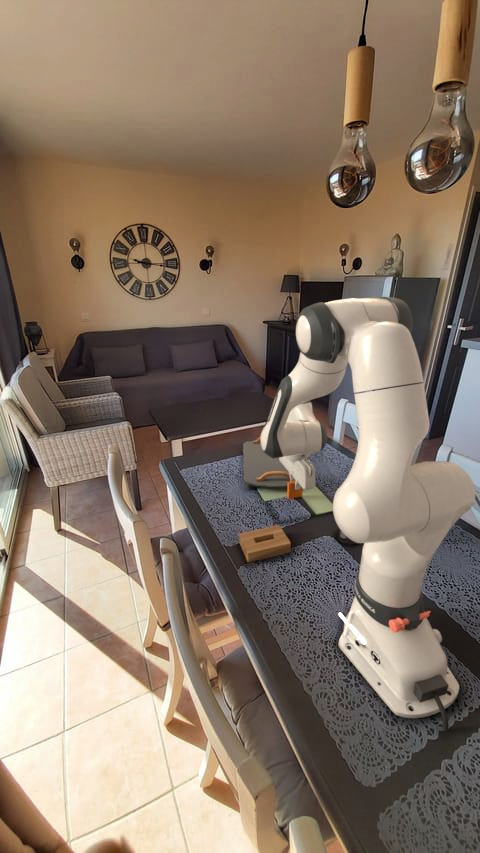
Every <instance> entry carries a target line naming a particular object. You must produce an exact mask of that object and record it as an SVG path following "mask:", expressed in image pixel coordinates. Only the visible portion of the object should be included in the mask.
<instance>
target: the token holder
mask: <svg viewBox="0 0 480 853" xmlns="http://www.w3.org/2000/svg"><path fill="white" fill-rule="evenodd" d="M238 543H239V544H240V547H241V550H242V552H243V554H244V556H245V560H246V561H247V563H253V562H257V561H260V560H264V559H268V558H272V557H275V556H281V555H284V554H289V553H291V552H292V551H291V549H292V543H291V541H290V539H289V537H288V536H287V535H286V533H285V531H284V530H283V528H282V527H281V525H280V524H276V525H271V526H267V527H263V528H259V529H253V530H250V531H246V532H240V533H238Z"/></svg>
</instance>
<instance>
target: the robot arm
mask: <svg viewBox="0 0 480 853" xmlns="http://www.w3.org/2000/svg"><path fill="white" fill-rule="evenodd" d="M412 330H413V315H412V312H411V309H410V307H409V305H408V304H407V303H406V302H405V301H404V300H403V299H400V298H396V297H390V296H382V297H379V298H377V297H361V298H357V297H356V298H355V297H350V298H342V299H336V300H332V301H331V300H330V301H328V302H322V301H321V302H315V303H313V304H310V305H308V306H306V307H304V308H303V309H302V310H301V311H300V313H299V315H298V316H297V319H296V323H295V340H296V344H297V348H298V350H299V351H300V352H299V357H298V361H297V363H296V365H295V367H294V368H293V369H292V371H291V372H290V373H288V375H286V376H285V377H283V378H282V379H281V381H280V383H279V385H278V388H277V389H276V393H275V395H274V398H273V402H272V404H271V407H270V410H269V414H268V416H267V419H266V421H265V424H264V425H263V427H262V429H261V433H260V436H259V437H260V442H261V447H262V450H263V452H264V453H265V454H267V455H268V456H270V457H271V458H273V459H274V458H279V460H280V462H281V463H282V464H283V465H284V467H285V468H286V469H287V470H288V471H289V475H290V479H291V480H290V482H291V481H296V482H295V483H294V488H295V489H296V490H298V489H300V488H301V487H302V488H303V489H304V490H307V489H312V488H314V487H315V485H316V469H315V466H314V465H313V464H314V463H312V461H311V460H310V459H308V458H310V457H311V455H312V454H317V453H321V452H322V451H323V450H324V448H325V447H326V445H327V442H328V429H327V427H326V425H325V424H324V423H323V422H321V421H320V420H319V419H317V418H316V416H315V414H314V410H313V404H312V402H311V401H312V400H316V399H319V398H322V397H325V396H327V395H329V394H331V393H332V392H335V390H337V389H338V387H339V386H340V385H341V383H342V381H343V379H344V377H345V375H346V370H347V367H348V365H349V367H350V371H351V379H352V389H353V390H352V391H353V395H354V402H355V403H354V404H355V412H356V421H357V432H358V439H357V440H358V441H357V448H356V452H355V453H356V454H355V457H354V461H353V463H352V467H351V469H350V471H349V473H348V475H347V477H345V480H344V481H343V482H342V484H341V485H340V486H339V487H338V488H337V489H336V491H335V493H334V495H333V496H334V497H333V501H332V504H333V511H332V513H333V517H334V521H335V523H336V525H337V527H338V528H340V530H341V531H342V532H343V533H344V534H345V535H346V536H347V537H348V538H349V539H351V540H352V541H354V542H356V544H363V545H362V549H361V550H362V551H361V559H360V563H359V564H360V565H359V569H358V571H357V573H356V577H355V581H354V597H353V600H352V603H351V606H350V609H349V611H348V613H347V615H346V616H344V615H343V613H342V612H338V616H339V617H340V619H341V620H342V621H343V631H342V633H341V635H340V638H339V640H338V647H339V649H340V650H341V651H342V653H343V654H344V656H346V657H347V659H348V660H349V661H350V663H352V665H353V666H354V667H355V668H356V670H357V671H358V672H359V673H360V674H361V676H362V677H363V678H364V679H365V681H366V682H367V683H368V684H369V686H371V688H372V689H373V690H374V691H375V692H376V694H377V695H378V696H379V697H380V698H381V700H382V701H383V702H384V704H385V705H386V706H387V707H388V708H389V710H390V711H391V712H392V713H393V714H394V715H395V716H398V717H401V718H406V719H422V718H426V717H430V716H433V715H435V714H438V713H440V715H441V719H442V720H441V722H442V723H441V724H442V730H444V731H445V732H447V731H449V719H448V714H447V711H446V709H447V708H449V707H450V706H451V705H452V704H453V703H454V702H455V701H456V700H457V698H458V695H459V692H460V684H459V682H458V681H457V679H456V677H455V676H454V674H453V672H452V671H451V669H450V667H449V666H448V659H447V656H446V653H445V651H444V649H443V647H442V645H441V643H442V642H443V637H442V634H441V631H439V630H438V629H437V628H433V627H432V626H431V625H432V624H430V621H429V620H428V618H429V617H430V616H431V615H430V613H431V612H432V611H431V610H427V611H426V610H425V602H424V595H423V590H422V588H423V585H424V581H425V577H426V573H427V570H428V567H429V564H430V562H431V561H432V558H433V557H434V555H435V554H436V552H437V550H438V549H439V547H440V545H441V544H442V542H443V541H444V540H445V538H446V536H447V535H448V533H449V532H450V530H451V529H452V528H453V526H454V525H455V524H456V522H458V520H460V518H462V517H463V516H464V515H465V514H466V513H467V512H468V511H469V510H471V509H472V507H473V506H474V503H475V500H476V488H475V485H474V482H473V480H472V478H471V476H470V475H469V473H468V472H467V471H466V470H465V469H464V468H463V467H461V466H460V465H459V464H456V463H454V462H451V461H441V460H440V461H438V460H437V461H435V460H434V461H431V460H429V461H427V460H426V461H421V462H417V463H413V464H412V460H413V457H414V454H415V452H416V450H417V448H418V446H419V444H421V443H422V442H423V440H424V439H425V438H426V437H427V435H428V433H429V430H430V418H429V409H428V404H427V397H426V390H425V383H424V376H423V370H422V364H421V361H420V357H419V353H418V350H417V347H416V344H415V342H414V339H413V336H412Z"/></svg>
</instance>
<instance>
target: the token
mask: <svg viewBox="0 0 480 853" xmlns="http://www.w3.org/2000/svg"><path fill="white" fill-rule="evenodd" d="M295 482H296V481H291V482H288V488H287V497H286V498H287V499H288V500H292V499H296V498H302V492H303V488H302V487H301V488H300V489H298V490H296V489H295V488H294V483H295Z"/></svg>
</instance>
